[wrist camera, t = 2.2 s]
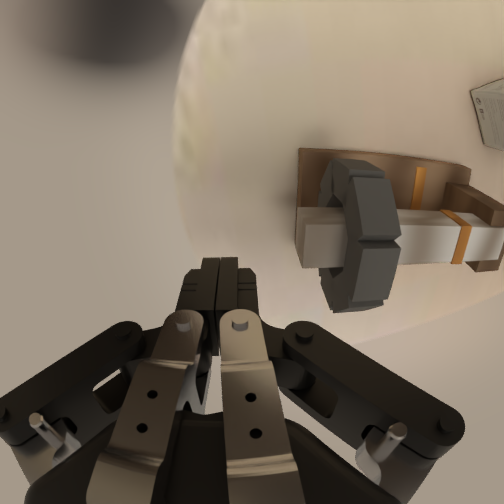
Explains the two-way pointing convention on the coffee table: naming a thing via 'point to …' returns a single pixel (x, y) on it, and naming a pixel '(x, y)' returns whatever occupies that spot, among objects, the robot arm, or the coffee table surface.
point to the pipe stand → (404, 213)
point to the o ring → (361, 235)
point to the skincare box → (491, 113)
